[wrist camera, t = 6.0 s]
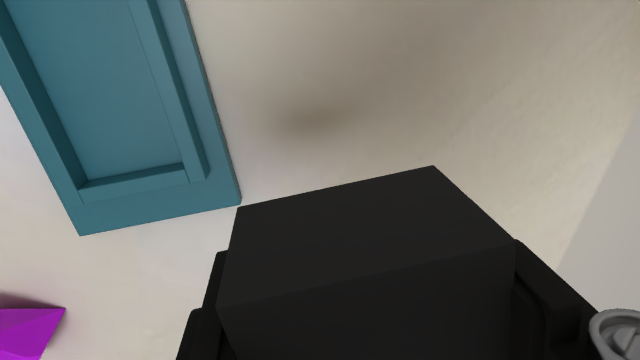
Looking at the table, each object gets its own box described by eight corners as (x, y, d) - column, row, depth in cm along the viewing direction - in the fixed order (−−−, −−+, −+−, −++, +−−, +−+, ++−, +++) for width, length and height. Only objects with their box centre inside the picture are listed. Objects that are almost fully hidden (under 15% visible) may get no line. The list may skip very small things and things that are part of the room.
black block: (434, 163, 9) (517, 240, 6) (443, 313, 11) (509, 431, 8) (236, 206, 9) (213, 307, 6) (282, 349, 11) (283, 483, 8)
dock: (143, -142, 18) (122, -165, 16) (242, 198, 26) (238, 215, 23) (-82, -101, 18) (-135, -120, 16) (86, 229, 25) (67, 249, 23)
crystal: (47, 354, 29) (7, 409, 25) (-27, 328, 28) (-82, 383, 24) (72, 310, 28) (35, 361, 24) (-4, 281, 26) (-58, 330, 22)
